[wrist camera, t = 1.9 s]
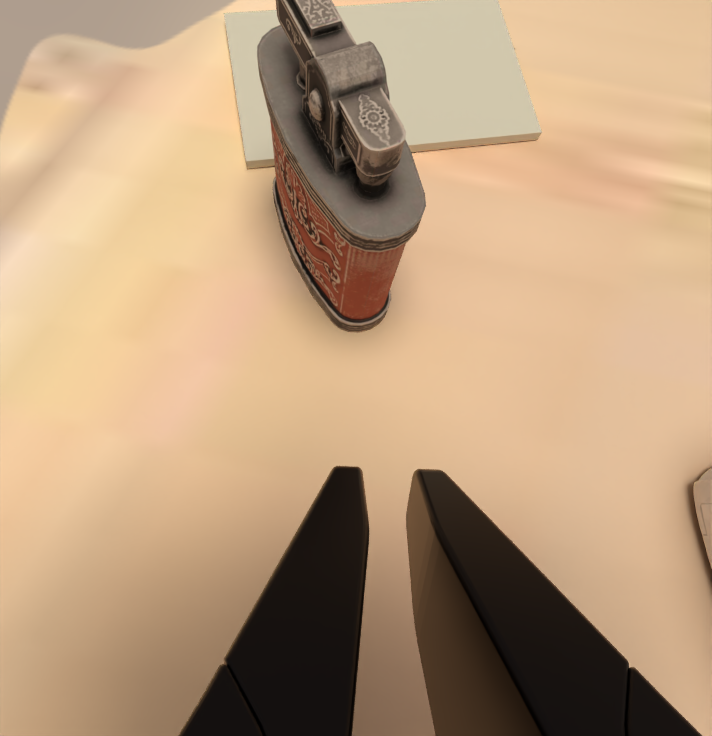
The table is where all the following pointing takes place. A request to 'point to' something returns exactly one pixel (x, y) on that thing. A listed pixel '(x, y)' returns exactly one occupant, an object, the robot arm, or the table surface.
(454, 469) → the table surface
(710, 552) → the photo printer
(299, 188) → the lighter
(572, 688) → the robot arm
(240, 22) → the mat
